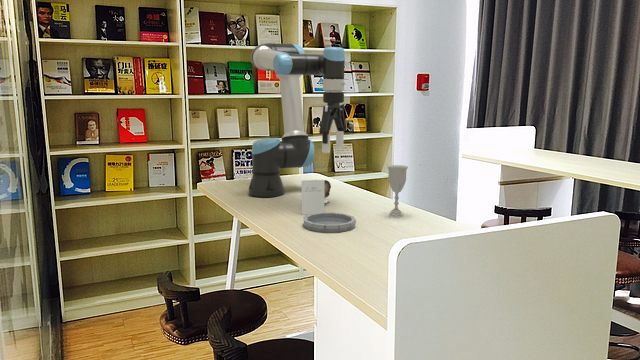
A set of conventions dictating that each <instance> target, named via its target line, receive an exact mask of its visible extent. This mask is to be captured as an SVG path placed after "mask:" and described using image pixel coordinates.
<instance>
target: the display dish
mask: <svg viewBox="0 0 640 360" xmlns="http://www.w3.org/2000/svg"><path fill="white" fill-rule="evenodd" d="M302 220H303V227H304V228H305V229H306V230H309V231H311V232H316V233H326V234H329V233H330V234H334V233H335V234H337V233H344V232H349V231H352V230H354V229H355V228H356V224H357V220H356V217H355V216H353V215H350V214H347V213H342V212H341V213H340V212H324V213H315V214H309V215H305V216H303V219H302Z"/></svg>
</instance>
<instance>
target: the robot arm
mask: <svg viewBox="0 0 640 360" xmlns="http://www.w3.org/2000/svg"><path fill="white" fill-rule="evenodd" d="M345 60H346V57H345V50H344V48H343V47H337V46H330V47H329V46H327V47H324V48H323V53H320V54H319V53H317V54H314V53H313V54H312V53H310V54H309V53H305V50H304V48H303V47H302V46H301V45H299V44H295V43H275V42H274V43H273V42H268V43H266V42H265V43H261V44H258V45H256V46H255V47H254V48H253V49H252V51H251V53H250V61H251V64H252V65H253V66H254V67H255V68H256V69H259V70H262V71H268V72H269V71H270V72H274V73H275V77H276V78H277V79H279V85H280V97H281V107H282V108H281V109H282V120H283V129H284V130H283V131H284V134H283V135H282V136H281V140H280V138H278V137H268V138H261V139H257V140H255V141H254V142H253V143H252V145H251V160H252V161H251V163H252V165H251V166H252V168H251V169H252V172H251V173H252V176H251V180H250V184H249V186H248V195H250V196H251V197H261V198H270V197H280V196H282V195H284V194H285V187H284V184H283V180H282V177H281V169H292V168H293V169H294V168H300V169H301V168H306V167H309V166H310V165H311V164H312V162H313V161H314V157H315V150H316V149H315V144H314V140H311V139H309V135H308V133H306V131H305V127H304V126H305V125H304V124H305V123H304V117H303V116H304V113H303V104H302V102H303V101H302V95H301V83H300V78H301V76H322V78H323V81H322V90H323V91H324V92H323V93H322V101H323V102H322V103H324V104H326V103H327V104H326V105H323V106H322V116H321V120H320V124H319V125H320V127H319V132H318V134H319V135H321V139H322V140H321V153H322V154H330V153H331V134H330V130H331V128H332V125H333V121H334V124H335V127H336V131H335V149H336V150H338V149H340V150H341V149H342V150H343V149H344V137H345V136H344V132H347V126H346V125H347V124H346V120H345V119H346V118H345V113H344V105H343V103H345V93H344V92H343V91H344V90H345V85H346V82H345V62H346V61H345Z"/></svg>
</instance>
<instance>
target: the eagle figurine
mask: <svg viewBox="0 0 640 360" xmlns="http://www.w3.org/2000/svg"><path fill="white" fill-rule="evenodd" d="M324 180H325V183H324V205H327V204H328V203H330V201H329V200H328V199H327V198H328V197H329V196H330V191H331V188H332V185H331V183H330V181H328V180H327V179H324Z"/></svg>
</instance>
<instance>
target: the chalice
mask: <svg viewBox="0 0 640 360" xmlns="http://www.w3.org/2000/svg"><path fill="white" fill-rule="evenodd" d="M408 168H409V166H408V165H405V164H404V165H402V164H391V165H390V164H389V165H387V170H388V179H387V180H388V183H389V186H390V188H391V190H392V192H393V193H394V197H393V198H394V202H393V203H394V208H393V209H392V210H390V213H389V215H388V217H389V218H393V219H400V218H403V217H404V215H403V212H402V211H401V209H399V207H398V206H399V199H400V197H399V194H400V193H401V192H402V190H403V189H404V187H405V184H406V182H407V170H408Z"/></svg>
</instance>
